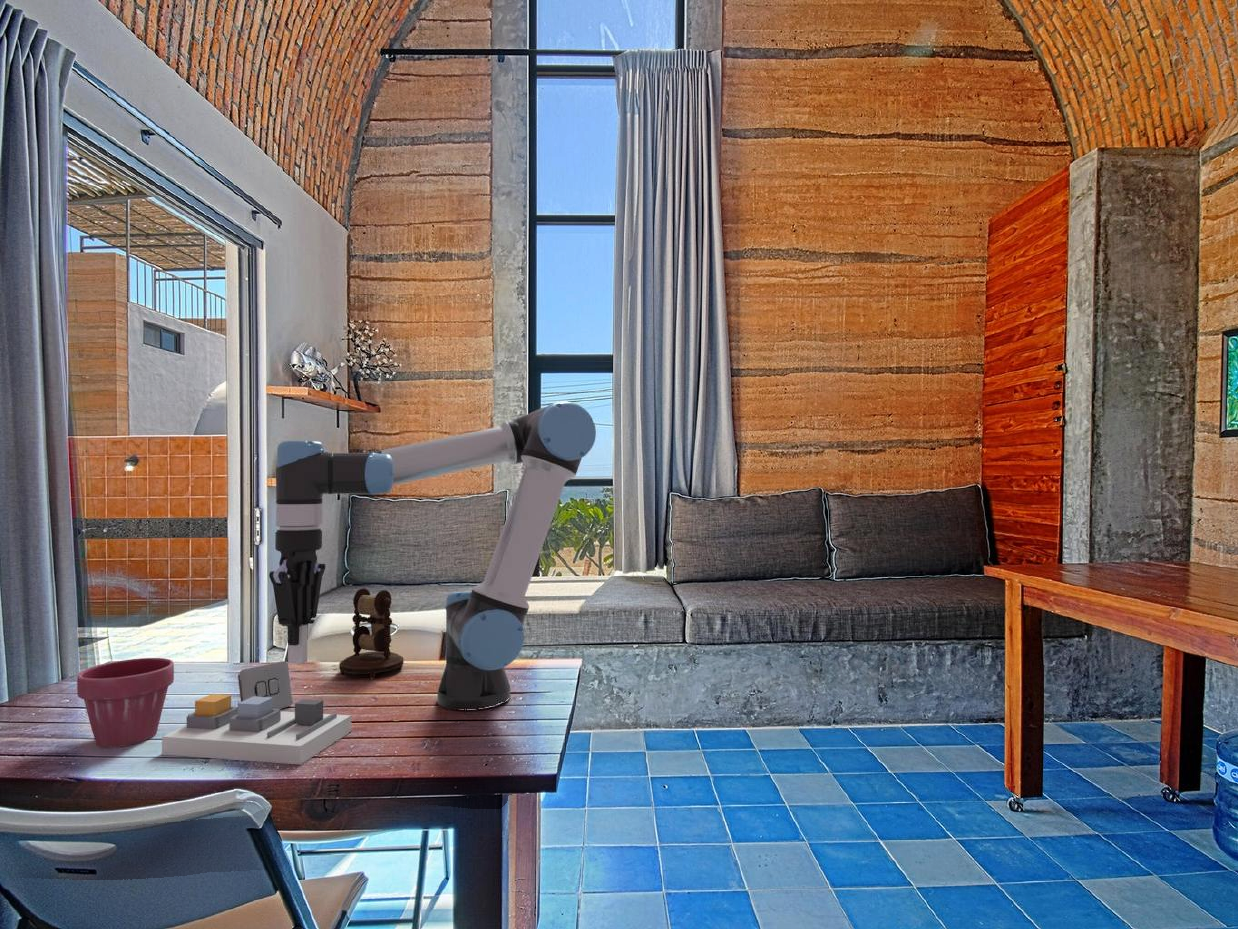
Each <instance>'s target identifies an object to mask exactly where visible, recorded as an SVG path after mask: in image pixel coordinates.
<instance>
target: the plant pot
mask: <svg viewBox="0 0 1238 929" xmlns="http://www.w3.org/2000/svg"><path fill="white" fill-rule="evenodd" d="M174 680H175V665H174V661H173V660H171V659H168V658H165V657H164V658H162V657H143V658H141V657H139V658H132V659H123V660H117V661H112V662H108V663H103V664H98V665H96V666H93V667H89V668H87V669H85V670H83V671H81V672H80V673H79V674H77V680H76V693H77V694H76V695H77V697H78V698H79V699H81V700H83V701H84V705H85V709H86V714H87V717H88V720H89V724H90V728H91V731H92V735H93V738H94V742H95V745H96V746H97V745H98V747H100V748H119V747H124V746H125V747H127V746H130V745H135V744H138V743H142V742H144V741H147V740H149V739H151V738H153V737H154V736H155V735H156V734H157V733H158V731H159V730H158V729H159V726H160V721H161V716H162V713H163V708H164V705H165V701H166V697H167V693H168V689H169V687H170V686H171V685H172V684H173V683H174Z"/></svg>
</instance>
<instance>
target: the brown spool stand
mask: <svg viewBox="0 0 1238 929" xmlns="http://www.w3.org/2000/svg"><path fill="white" fill-rule="evenodd" d="M352 601H353V607H354V611H353V613H354V615H353V616H352V622H353V624H354V629H353V631H354V632H353V635H352V644H353V647H354V648H353V653H354V654H353V655H349V656H348V657H346V658H345V659H343V660H341V661H340V662H339V666H338V668H339V671H340V674H341V673H344V674H345V673H347V674H354V675H356V674H357V675H361V674H362V675H365V674H366V675H367V674H369V677H370V679H371V678H373V679H375V676H376V674H377V673H384V672H388V671H392V670H395V669H399V668H401V669H402V668H403V665H404V664H405V663H404V657H403V656H401V655H399V654H398V653H396V652H392V651H391V649H390V647H391V645H390V644H391V643H392V637H391V636H392V635H391V626H392V624H393V619H392V617H390V616H391V611H390V609H391V605H392V595H391V593H390V591H388V590H386V589H382V590H380V591H378V593H377V594H376V595H372V594H371V593H370V591H369V590H368V589H367V588H360V589H358V590H357V591H356V593H355V594H354V597H353V600H352ZM363 615H365V616H363ZM366 616H369V617H366ZM361 623H367V624H370V627H371V631H370V629H369V627H367V626H366V625H361ZM361 650H364V651H365V652H361ZM366 651H368V652H366Z"/></svg>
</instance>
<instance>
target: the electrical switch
mask: <svg viewBox="0 0 1238 929" xmlns="http://www.w3.org/2000/svg"><path fill="white" fill-rule="evenodd" d="M237 680H238V688H239V696H240V697H239V698H240V702H242V701H244V700H246V699H249V698H251V697H253V696H255V697H273V709H286V708H288V707H291V706H292V705H293V703H294V702H293V695H292V687H291V680H290V672H289V663H288V661H286V660H283V661H282V660H281V661H277V662H272V663H268V664H263V665H257V666H253V667H248V668H242V669H241V670H240V671H239V674H238V675H237Z"/></svg>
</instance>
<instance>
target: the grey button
mask: <svg viewBox="0 0 1238 929" xmlns="http://www.w3.org/2000/svg"><path fill="white" fill-rule="evenodd" d="M237 707H238V718H249V719H260V718H262V717H264V716H266V715H268V714H270V713H272V712H273V697H255V696H253V697H251V698H249V699H246V700H244V701H242V702H241V701H240V702H237Z"/></svg>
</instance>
